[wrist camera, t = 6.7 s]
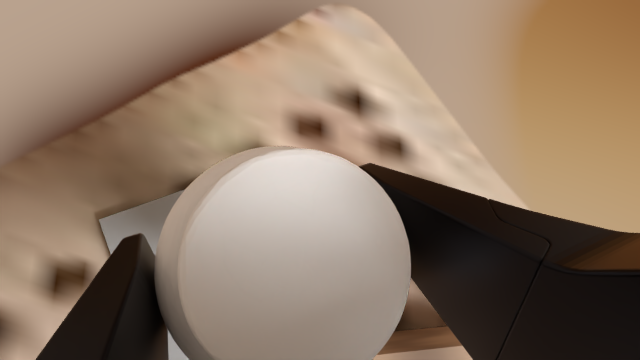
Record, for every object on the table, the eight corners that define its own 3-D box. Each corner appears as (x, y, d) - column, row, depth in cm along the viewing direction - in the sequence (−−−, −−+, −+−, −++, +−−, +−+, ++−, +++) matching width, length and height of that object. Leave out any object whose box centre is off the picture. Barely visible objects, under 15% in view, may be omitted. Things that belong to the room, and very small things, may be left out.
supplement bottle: (339, 230, 16) (492, 195, 7) (285, 346, 15) (387, 520, 5) (234, 174, 16) (237, 46, 6) (166, 288, 14) (21, 364, 4)
